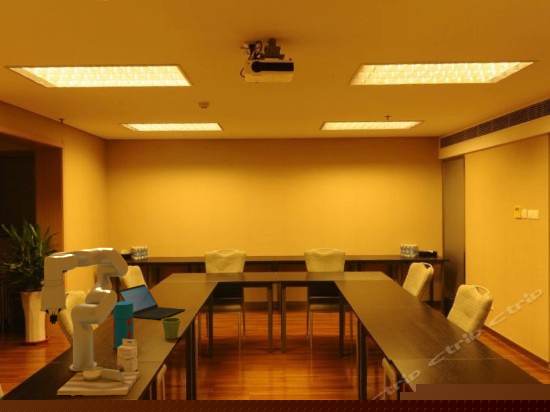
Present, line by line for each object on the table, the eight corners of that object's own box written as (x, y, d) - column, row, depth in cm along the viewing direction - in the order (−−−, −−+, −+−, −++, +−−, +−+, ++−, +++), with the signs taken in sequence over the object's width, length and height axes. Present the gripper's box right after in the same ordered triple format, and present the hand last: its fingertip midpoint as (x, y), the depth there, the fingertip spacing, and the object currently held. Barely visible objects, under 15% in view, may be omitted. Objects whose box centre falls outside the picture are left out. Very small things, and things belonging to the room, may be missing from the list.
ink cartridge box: (116, 371, 225) (116, 341, 225) (122, 368, 230) (122, 338, 230) (132, 372, 223) (132, 342, 223) (137, 369, 228) (137, 339, 228)
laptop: (161, 321, 327) (161, 293, 327) (117, 316, 339) (117, 290, 339) (185, 311, 358) (185, 286, 358) (144, 307, 371) (144, 283, 371)
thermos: (110, 346, 265) (109, 303, 265) (127, 342, 272) (127, 300, 273) (119, 350, 257) (119, 306, 257) (136, 346, 265) (136, 303, 265)
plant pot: (163, 341, 275) (163, 322, 275) (159, 336, 285) (159, 318, 285) (183, 339, 279) (183, 320, 280) (179, 334, 290) (178, 316, 290)
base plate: (77, 376, 218) (77, 372, 218) (139, 375, 219) (139, 371, 219) (57, 395, 196) (57, 390, 196) (126, 394, 197) (126, 389, 197)
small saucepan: (78, 379, 208) (78, 366, 208) (92, 372, 217) (92, 360, 217) (117, 384, 202) (117, 371, 202) (129, 377, 210) (129, 364, 211)
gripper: (34, 285, 204) (34, 327, 204) (71, 283, 210) (71, 323, 210) (35, 282, 211) (36, 323, 211) (71, 280, 217) (71, 320, 217)
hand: (53, 323), depth 210 cm, fingers closed
